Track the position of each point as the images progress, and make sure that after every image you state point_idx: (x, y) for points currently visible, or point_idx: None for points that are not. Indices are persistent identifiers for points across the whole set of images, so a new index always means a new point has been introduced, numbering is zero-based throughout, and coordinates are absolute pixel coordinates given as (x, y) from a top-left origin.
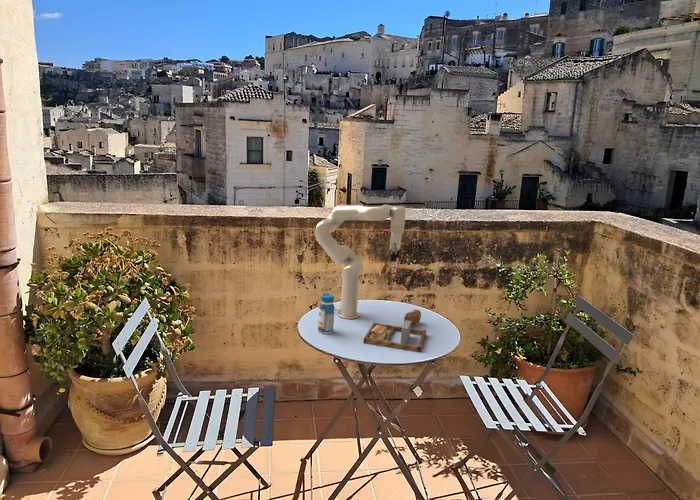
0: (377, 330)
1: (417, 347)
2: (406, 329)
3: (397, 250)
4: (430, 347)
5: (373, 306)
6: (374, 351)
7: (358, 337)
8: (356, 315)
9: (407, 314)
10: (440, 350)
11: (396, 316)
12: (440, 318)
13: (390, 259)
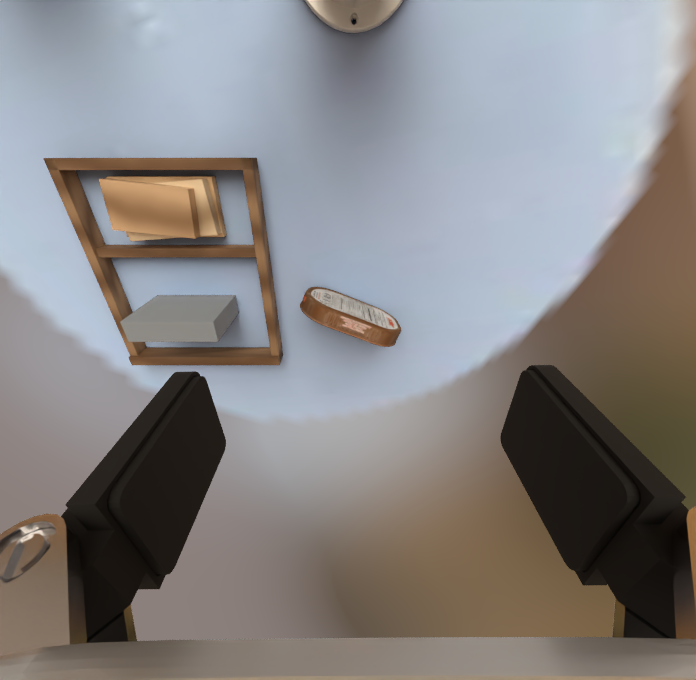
0: (125, 208)
1: (131, 354)
2: (129, 336)
3: (608, 573)
4: None
5: (554, 80)
6: (28, 223)
7: (96, 117)
8: (341, 12)
9: (316, 311)
10: None
11: (428, 233)
12: (453, 377)
13: (160, 390)
